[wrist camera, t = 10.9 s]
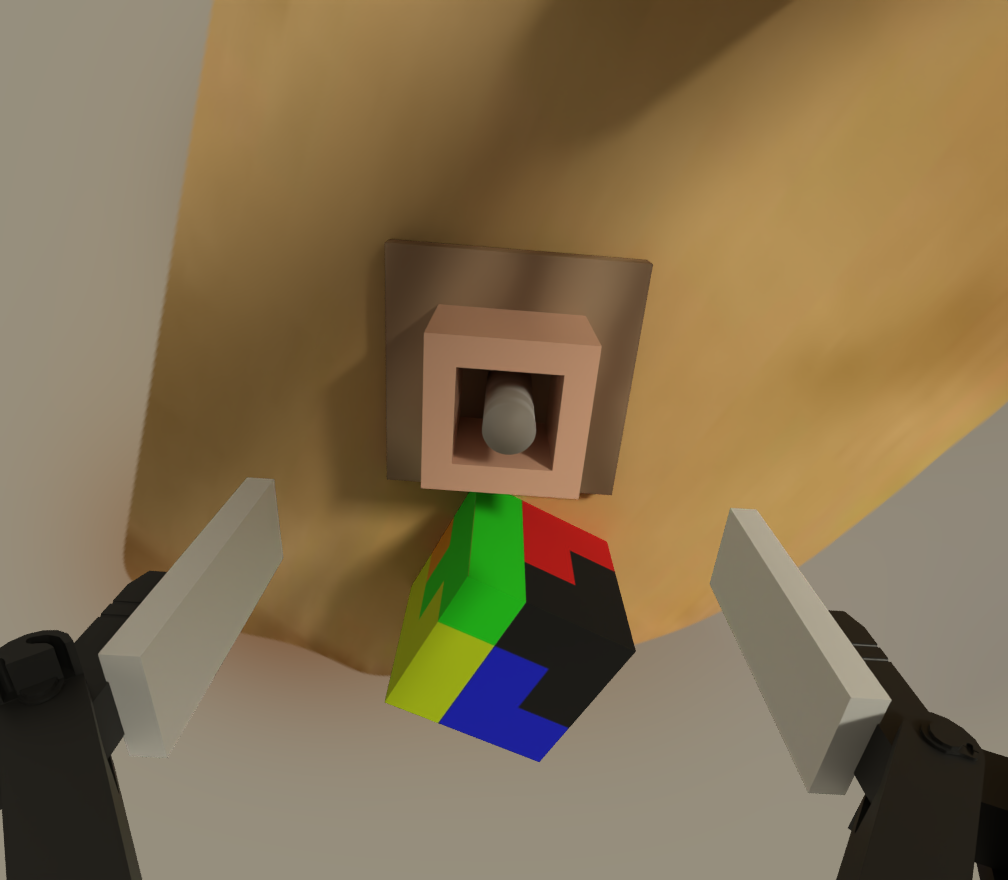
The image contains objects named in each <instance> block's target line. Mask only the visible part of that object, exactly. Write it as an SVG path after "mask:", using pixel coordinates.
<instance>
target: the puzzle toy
mask: <svg viewBox="0 0 1008 880" xmlns="http://www.w3.org/2000/svg"><path fill="white" fill-rule="evenodd" d="M635 651H636V650H635V647H634V643H633V639H632V635H631V631H630V628H629V624H628V620H627V616H626V612H625V609H624V605H623V601H622V597H621V593H620V590H619V586H618V582H617V578H616V574H615V571H614V567H613V563H612V559H611V555H610V552H609V548H608V544H607V542H606V541H604V540H602V539H600V538H598V537H596V536H594V535H592V534H590V533H588V532H586V531H584V530H582V529H579V528H577V527H575V526H573V525H571V524H569V523H567V522H565V521H563V520H561V519H559V518H557V517H555V516H553V515H551V514H549V513H547V512H545V511H543V510H541V509H538V508H536V507H534V506H532V505H530V504H528V503H526V502H524V501H522V500H520V499H518V498H516V497H514V496H512V495H510V494H497V493H483V492H469V493H468V495H467V497H466V498H465V500H464V501H463V503H462V505H461V506H460V508H459V510H458V511H457V513H456V515H455V516H454V518H453V519H452V521H451V523H450V524H449V526H448V528H447V529H446V531H445V532H444V534H443V536H442V537H441V539H440V541H439V542H438V544H437V545H436V547H435V549H434V550H433V552H432V554H431V555H430V557H429V559H428V560H427V562H426V563H425V565H424V567H423V568H422V570H421V572H420V573H419V575H418V576H417V578H416V580H415V581H414V583H413V585H412V586H411V590H410V594H409V599H408V603H407V607H406V612H405V616H404V620H403V625H402V629H401V633H400V638H399V642H398V646H397V651H396V655H395V659H394V664H393V668H392V672H391V677H390V681H389V685H388V690H387V694H386V699H385V703H388V704H390V705H393V706H395V707H398V708H401V709H403V710H406V711H408V712H411V713H413V714H416V715H419V716H421V717H424V718H427V719H429V720H432V721H434V722H437V723H439V724H442V725H445V726H447V727H450V728H452V729H455V730H457V731H460V732H463V733H465V734H468V735H470V736H473V737H476V738H478V739H481V740H483V741H486V742H488V743H491V744H494V745H496V746H499V747H502V748H504V749H507V750H509V751H512V752H514V753H517V754H519V755H522V756H525V757H527V758H530V759H532V760H535V761H538V762H540V761H541V759H542V758H543V757H544V756H545V755H546V754H547V753H548V751H549V750H550V749H551V748H552V747H553V746H554V745H555V743H556V742H557V741H558V740H559V739H560V738H561V737H562V735H563V734H564V733H565V732H566V731H567V730H568V728H569V727H570V726H571V725H572V724H573V723H574V721H575V720H576V719H577V718H578V717H579V716H580V715H581V714H582V712H583V711H584V710H585V709H586V708H587V707H588V706H589V704H590V703H591V702H592V701H593V700H594V699H595V697H596V696H597V695H598V694H599V693H600V692H601V691H602V690H603V688H604V687H605V686H606V685H607V683H609V681H610V680H611V679H612V678H613V677H614V676H615V674H616V673H617V672H618V671H619V670H620V669H621V668H622V667H623V665H624V664H625V663H626V662H627V661H628V660H629V658H630V657H631V656H632V655H633V654H634V653H635Z"/></svg>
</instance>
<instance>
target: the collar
mask: <svg viewBox="0 0 1008 880" xmlns="http://www.w3.org/2000/svg"><path fill="white" fill-rule="evenodd" d="M601 348H602V346H601V344H600V342H599V340H598V338H597V336H596V334H595V332H594V331H593V329H592V327H591V325H590V323H589V321H588V319H587V317H586V316H583V315H570V314H557V313H544V312H532V311H519V310H506V309H494V308H481V307H468V306H456V305H443V304H438V306H437V308H436V310H435V312H434V314H433V316H432V318H431V320H430V322H429V324H428V326H427V328H426V330H425V332H424V358H423V409H422V459H421V488H426V489H440V490H454V491H469V492H483V493H497V494H511V495H525V496H540V497H554V498H568V499H579V493H580V486H581V480H582V473H583V467H584V460H585V453H586V447H587V440H588V434H589V427H590V420H591V414H592V407H593V401H594V394H595V388H596V381H597V374H598V368H599V361H600V355H601ZM463 368H473V369H487V370H500V371H513V372H526V373H539V374H551V380H550V389H549V397H548V406H547V415H546V423H536V435H535V439H534V441H533V442H532V444H531V445H530V446H529V447H528V448H527V449H526V450H524V451H523V452H521V453H518V454H513V455H505V454H500V453H498V452H496V451H494V450H492V449H491V448H490V447H489V446H488V445H487V444H486V442H485V440H484V438H483V435H482V425H483V419H481V418H468V417H461V402H462V382H463Z"/></svg>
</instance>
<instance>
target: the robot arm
mask: <svg viewBox="0 0 1008 880" xmlns="http://www.w3.org/2000/svg"><path fill="white" fill-rule="evenodd" d="M282 560H283V551H282V542H281V534H280V525H279V516H278V508H277V499H276V491H275V482H274V479H264V478H248V477H247V478H246V479H245V481H244V482H243V483H242V484H241V485H240V486H239V488H238V489H237V490H236V491H235V492H234V494H233V495H232V496H231V497H230V498H229V500H228V501H227V502H226V503H225V504H224V505H223V507H222V508H221V509H220V510H219V511H218V513H217V514H216V515H215V516H214V517H213V518H212V520H211V521H210V522H209V523H208V524H207V526H206V527H205V528H204V529H203V530H202V532H201V533H200V534H199V535H198V536H197V537H196V539H195V540H194V541H193V542H192V543H191V545H190V546H189V547H188V548H187V549H186V550H185V552H184V553H183V554H182V555H181V556H180V558H179V559H178V560H177V561H176V562H175V563H174V565H173V566H172V567H171V568H170V569H169V571H168V572H159V571H148V572H147V573H145V574H144V575H142V576H140V577H139V578H137V579H136V580H134V581H132V582H131V583H129V584H128V585H127V586H126V587H125V588H124V589H123V590H122V591H121V592H120V594H119V595H118V596H117V597H116V598H115V599H114V600H113V603H112V604H110V605H109V606H108V607H107V608H106V609H105V610H104V611H103V612H102V613H101V617H98V618H97V619H96V620H95V621H94V622H93V623H92V624H91V626H89V628H88V629H87V630H86V631H85V632H84V633H83V634H82V635H81V636H80V637H79V638H78V640H77V641H76V642H75V643H74V642H73V640H72V639H71V637H70V636H69V634H67V633H64V632H61V631H58V630H46V631H39V632H35V633H30V634H27V635H24V636H22V637H19V638H17V639H15V640H12V641H10V642H8V643H7V644H5V645H4V646H2V647H1V648H0V810H1V809H2V814H3V815H2V816H3V831H4V847H5V861H6V877H7V880H142V877H141V873H140V869H139V865H138V861H137V857H136V853H135V848H134V844H133V841H132V836H131V832H130V829H129V824H128V820H127V816H126V812H125V808H124V804H123V800H122V795H121V791H120V788H119V784H118V780H117V775H116V771H115V767H114V763H113V760H112V757H111V754H112V752H113V751H114V749H115V748H116V746H117V745H118V743H119V742H120V740H121V739H122V737H124V740H125V743H126V747H127V750H128V753H129V756H142V757H159V758H168V756H169V754H170V753H171V751H172V749H173V748H174V746H175V744H176V742H177V741H178V739H179V737H180V736H181V734H182V732H183V730H184V729H185V727H186V725H187V723H188V722H189V720H190V718H191V717H192V715H193V713H194V711H195V710H196V708H197V706H198V704H199V703H200V701H201V699H202V698H203V696H204V694H205V692H206V691H207V689H208V687H209V686H210V684H211V682H212V680H213V678H214V677H215V675H216V673H217V671H218V670H219V668H220V666H221V665H222V663H223V661H224V659H225V658H226V656H227V654H228V653H229V651H230V649H231V647H232V646H233V644H234V642H235V641H236V639H237V637H238V635H239V634H240V632H241V630H242V629H243V627H244V625H245V623H246V622H247V620H248V618H249V616H250V615H251V613H252V611H253V610H254V608H255V606H256V604H257V603H258V601H259V599H260V597H261V596H262V594H263V592H264V591H265V589H266V587H267V585H268V584H269V582H270V580H271V578H272V577H273V575H274V573H275V572H276V570H277V568H278V566H279V565H280V563H281V561H282ZM710 586H711V588H712V590H713V592H714V594H715V596H716V598H717V601H718V603H719V605H720V607H721V609H722V611H723V613H724V615H725V617H726V620H727V622H728V624H729V626H730V628H731V630H732V632H733V634H734V637H735V639H736V641H737V643H738V645H739V647H740V649H741V651H742V653H743V656H744V658H745V660H746V662H747V664H748V666H749V668H750V670H751V673H752V675H753V676H754V679H755V681H756V683H757V685H758V687H759V690H760V692H761V694H762V696H763V698H764V700H765V702H766V704H767V706H768V708H769V711H770V713H771V715H772V717H773V719H774V721H775V723H776V726H777V728H778V730H779V732H780V734H781V736H782V738H783V740H784V742H785V745H786V747H787V749H788V751H789V753H790V755H791V757H792V759H793V761H794V764H795V765H796V768H797V770H798V772H799V774H800V776H801V778H802V781H803V783H804V785H805V787H806V789H807V791H808V793H819V794H838V795H845V794H846V792H847V790H848V788H849V786H850V784H851V782H852V779H853V777H854V775H855V776H856V778H857V780H858V782H859V784H860V785H861V787H862V789H863V791H864V793H865V796H864V797H863V799H862V801H861V803H860V805H859V807H858V809H857V811H856V813H855V815H854V817H853V819H852V821H851V823H850V825H849V827H848V828H849V829H850V830H852V831H851V834H850V837H849V841H848V844H847V847H846V850H845V854H844V857H843V860H842V863H841V866H840V869H839V873H838V876H837V879H836V880H972V877H973V869H974V862H976V863H977V867H978V872H979V876H980V880H1008V757H1005V756H1002V755H998V754H995V753H992V752H989V751H986V750H983V749H981V747H980V746H979V745H978V743H977V742H976V740H975V739H974V738H973V737H972V736H971V735H970V734H968V733H967V732H966V731H965V730H964V729H963V728H962V727H960V726H958V725H957V724H955V723H954V722H952V721H950V720H949V719H947V718H945V717H942V716H939V715H937V714H934V713H931V712H928V710H927V709H926V708H925V707H924V705H923V704H922V703H921V701H920V700H919V698H918V697H917V696H916V695H915V693H914V692H913V691H912V689H911V688H910V687H909V685H908V684H907V683H906V681H905V680H904V679H903V677H902V676H901V675H900V673H899V672H898V671H897V669H896V668H895V667H894V666H893V665H892V663H891V662H888V658H887V656H886V655H885V654H884V652H883V651H882V650H881V649H880V648H878V647H877V643H876V642H875V641H874V639H873V638H872V637H871V635H870V634H869V633H868V631H867V630H866V629H865V627H863V626H862V625H861V624H860V623H858V622H857V621H856V620H854V619H853V618H852V617H851V616H850V615H848V614H847V613H846V612H844V611H830V610H827V608H826V607H825V605H824V604H823V603H822V601H821V600H820V598H819V597H818V596H817V594H816V593H815V592H814V590H813V589H812V587H811V586H810V584H809V583H808V581H807V580H806V579H805V577H804V576H803V574H802V573H801V572H800V570H799V569H798V567H797V566H796V565H795V563H794V562H793V560H792V559H791V557H790V556H789V555H788V553H787V552H786V550H785V549H784V548H783V546H782V545H781V543H780V542H779V541H778V539H777V538H776V536H775V535H774V534H773V532H772V531H771V529H770V528H769V526H768V525H767V524H766V522H765V521H764V519H763V518H762V517H761V515H760V514H759V512H758V511H757V510H755V509H739V508H730V511H729V515H728V518H727V522H726V526H725V529H724V533H723V537H722V540H721V544H720V548H719V551H718V555H717V559H716V562H715V566H714V570H713V574H712V577H711V581H710Z"/></svg>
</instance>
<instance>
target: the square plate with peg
mask: <svg viewBox="0 0 1008 880" xmlns="http://www.w3.org/2000/svg"><path fill="white" fill-rule="evenodd" d="M652 267H653V264H652V263H651V262H649V261H648V260H641V259H629V258H616V257H604V256H592V255H579V254H567V253H555V252H542V251H530V250H518V249H505V248H493V247H481V246H468V245H456V244H444V243H432V242H419V241H407V240H395V239H390V240H388V241H386V242H385V315H386V428H387V479H390V480H404V481H418V482H421V459H422V409H423V358H424V332H425V330H426V328H427V326H428V324H429V322H430V320H431V318H432V316H433V314H434V312H435V310H436V308H437V306H438V304H443V305H456V306H468V307H481V308H494V309H506V310H519V311H532V312H544V313H557V314H570V315H583V316H586V317H587V319H588V321H589V323H590V325H591V327H592V329H593V331H594V332H595V334H596V336H597V338H598V340H599V342H600V344H601V346H602V348H601V355H600V361H599V368H598V374H597V381H596V388H595V394H594V401H593V407H592V414H591V420H590V427H589V434H588V440H587V447H586V453H585V460H584V467H583V473H582V480H581V486H580V493H589V494H603V495H612V490H613V485H614V479H615V474H616V468H617V463H618V457H619V451H620V446H621V440H622V435H623V429H624V423H625V418H626V412H627V407H628V401H629V395H630V390H631V384H632V379H633V373H634V367H635V362H636V356H637V351H638V345H639V339H640V334H641V328H642V323H643V317H644V311H645V306H646V300H647V295H648V289H649V283H650V278H651V272H652ZM550 380H551V374H539V373H526V372H513V371H500V370H487V369H473V368H463V382H462V402H461V417H468V418H481V419H483V425H482V435H483V438H484V440H485V442H486V444H487V445H488V446H489V447H490V448H491V449H492V450H494V451H496V452H498V453H500V454H505V455H513V454H518V453H521V452H523V451H524V450H526V449H527V448H528V447H529V446H530V445H531V444H532V442H533V441H534V439H535V435H536V423H546V415H547V406H548V397H549V389H550Z"/></svg>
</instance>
